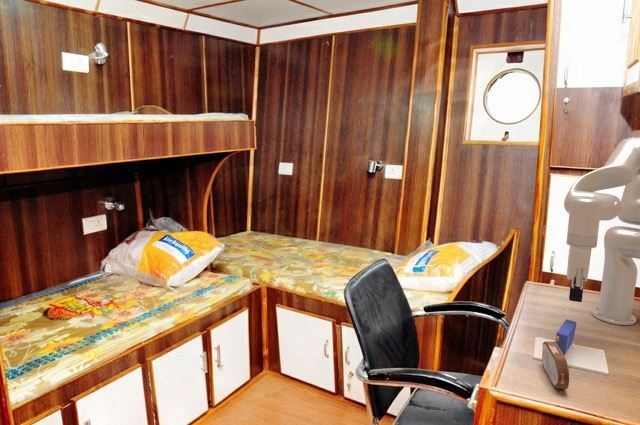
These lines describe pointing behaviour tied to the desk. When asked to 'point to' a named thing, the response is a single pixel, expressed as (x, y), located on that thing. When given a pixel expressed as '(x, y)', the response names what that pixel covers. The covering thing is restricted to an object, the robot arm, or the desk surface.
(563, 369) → the tin
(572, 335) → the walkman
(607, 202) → the robot arm
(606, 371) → the mat
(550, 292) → the desk surface
